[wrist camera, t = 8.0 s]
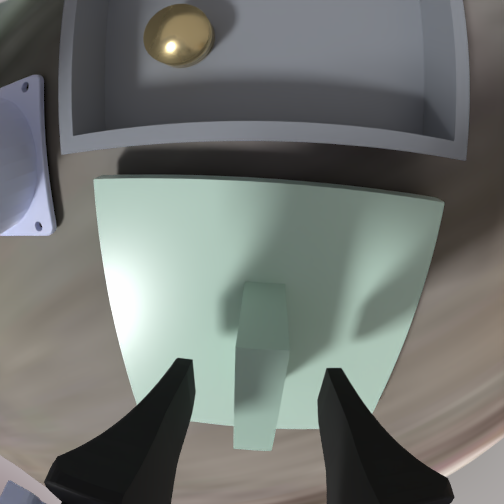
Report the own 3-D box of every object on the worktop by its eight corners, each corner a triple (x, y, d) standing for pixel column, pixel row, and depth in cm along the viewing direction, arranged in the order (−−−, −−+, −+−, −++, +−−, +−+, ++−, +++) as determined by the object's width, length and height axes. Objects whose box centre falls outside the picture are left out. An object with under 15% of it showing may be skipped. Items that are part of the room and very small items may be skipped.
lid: (145, 396, 18) (120, 463, 13) (109, 172, 12) (31, 208, 8) (361, 410, 18) (376, 479, 13) (429, 193, 12) (502, 239, 7)
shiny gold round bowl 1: (154, 71, 10) (142, 67, 9) (155, 18, 9) (144, 10, 8) (215, 65, 10) (209, 59, 9) (215, 10, 9) (209, -1, 8)
